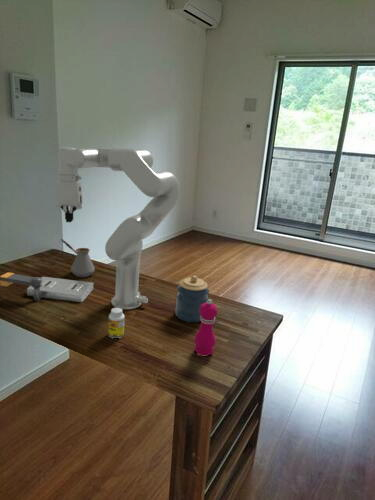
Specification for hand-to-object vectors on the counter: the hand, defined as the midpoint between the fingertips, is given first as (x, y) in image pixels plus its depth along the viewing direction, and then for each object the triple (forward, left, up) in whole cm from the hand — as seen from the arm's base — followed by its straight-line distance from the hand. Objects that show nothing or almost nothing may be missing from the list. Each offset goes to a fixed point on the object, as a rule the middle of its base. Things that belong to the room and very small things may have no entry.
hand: (69, 221), depth 159 cm
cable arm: (+14, +14, -26) cm, 33 cm away
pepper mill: (-63, +37, -31) cm, 79 cm away
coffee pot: (+5, -19, -31) cm, 37 cm away
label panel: (+2, +5, -31) cm, 31 cm away
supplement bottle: (-31, +34, -31) cm, 56 cm away
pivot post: (+8, +15, -31) cm, 35 cm away
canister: (-56, +12, -31) cm, 65 cm away
